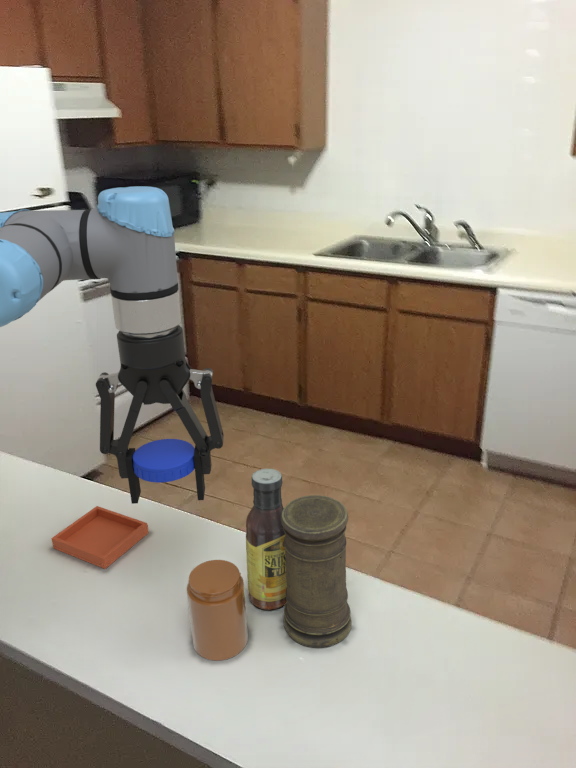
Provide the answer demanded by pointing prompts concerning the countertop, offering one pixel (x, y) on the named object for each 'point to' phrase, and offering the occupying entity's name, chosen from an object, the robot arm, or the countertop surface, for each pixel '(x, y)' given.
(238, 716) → the countertop surface
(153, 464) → the lid
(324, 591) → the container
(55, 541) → the tray
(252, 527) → the sauce bottle
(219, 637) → the jar
